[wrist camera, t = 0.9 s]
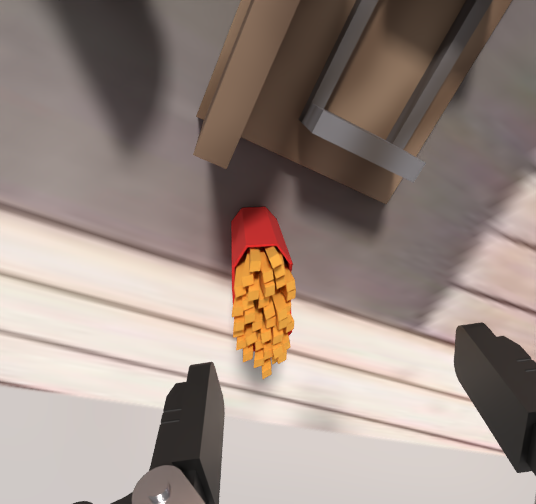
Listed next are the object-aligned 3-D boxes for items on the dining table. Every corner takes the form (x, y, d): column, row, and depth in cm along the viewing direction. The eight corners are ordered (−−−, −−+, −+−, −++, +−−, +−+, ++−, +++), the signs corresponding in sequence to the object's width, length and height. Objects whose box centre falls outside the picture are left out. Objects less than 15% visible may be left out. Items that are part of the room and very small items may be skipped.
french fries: (278, 282, 39) (300, 382, 27) (233, 285, 39) (236, 387, 27) (277, 189, 35) (303, 260, 23) (227, 192, 35) (227, 264, 23)
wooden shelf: (197, 113, 32) (181, 149, 20) (321, -209, 24) (402, -426, 13) (380, 198, 36) (449, 266, 25) (531, -52, 29) (725, -114, 18)
